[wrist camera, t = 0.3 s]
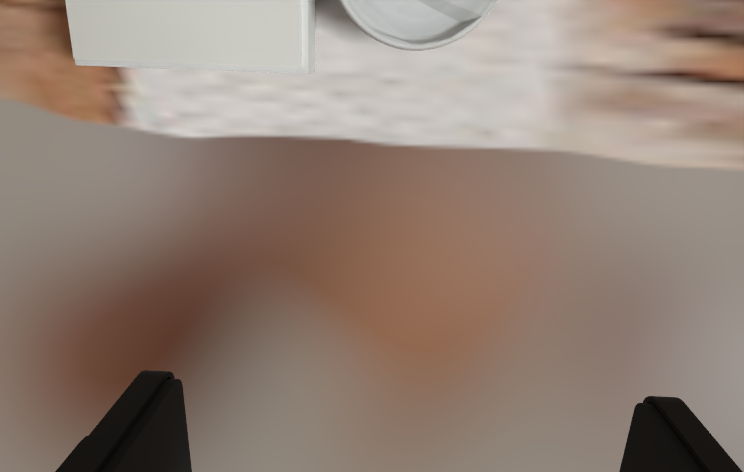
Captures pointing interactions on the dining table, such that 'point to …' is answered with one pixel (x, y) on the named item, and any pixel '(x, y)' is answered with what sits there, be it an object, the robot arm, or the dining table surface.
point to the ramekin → (417, 20)
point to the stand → (195, 34)
